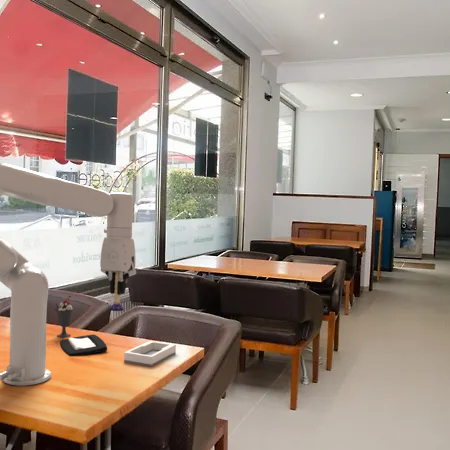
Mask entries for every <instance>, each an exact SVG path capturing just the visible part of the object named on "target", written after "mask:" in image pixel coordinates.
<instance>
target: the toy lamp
mask: <svg viewBox="0 0 450 450" xmlns="http://www.w3.org/2000/svg"><path fill="white" fill-rule="evenodd" d="M115 272H116V275H115V278H116V279H115V291H114V296H113V298H114V300H113V304H111V305H110V306H109V309H108V310H109V311H112V312H121V311H124V306H123V305H122V304H121V301H120V300H121V295H118V294H117V284H118V281H119V273H120V272H119V271H115Z"/></svg>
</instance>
